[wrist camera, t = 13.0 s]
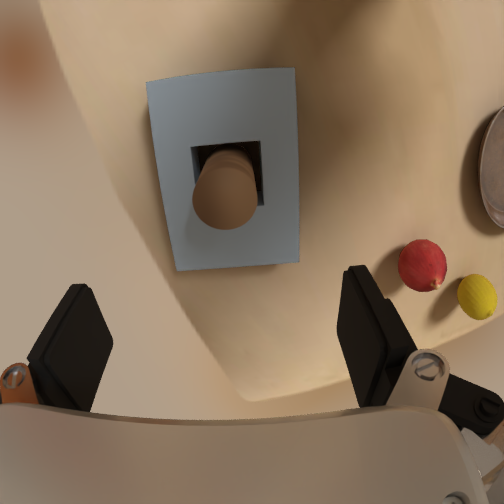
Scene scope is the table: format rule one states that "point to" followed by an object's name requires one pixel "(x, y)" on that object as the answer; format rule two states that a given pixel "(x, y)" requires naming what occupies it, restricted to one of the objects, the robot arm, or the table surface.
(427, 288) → the onion
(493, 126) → the plant saucer
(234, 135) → the hole board
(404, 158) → the table surface
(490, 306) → the lemon
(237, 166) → the walnut peg
